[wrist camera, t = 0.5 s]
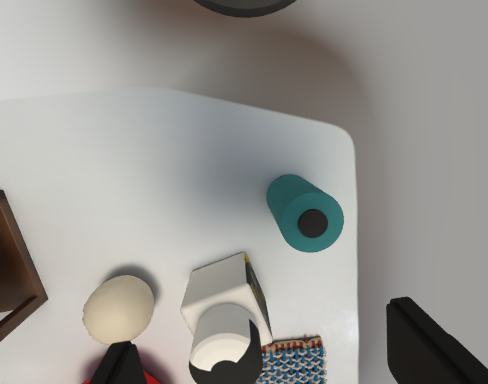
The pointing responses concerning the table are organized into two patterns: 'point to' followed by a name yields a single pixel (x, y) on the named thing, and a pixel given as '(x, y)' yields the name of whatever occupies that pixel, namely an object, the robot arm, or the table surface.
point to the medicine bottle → (226, 322)
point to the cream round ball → (118, 310)
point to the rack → (16, 274)
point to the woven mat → (293, 363)
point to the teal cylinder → (304, 213)
